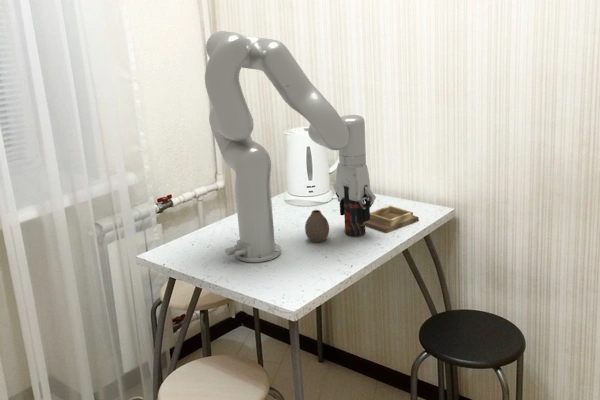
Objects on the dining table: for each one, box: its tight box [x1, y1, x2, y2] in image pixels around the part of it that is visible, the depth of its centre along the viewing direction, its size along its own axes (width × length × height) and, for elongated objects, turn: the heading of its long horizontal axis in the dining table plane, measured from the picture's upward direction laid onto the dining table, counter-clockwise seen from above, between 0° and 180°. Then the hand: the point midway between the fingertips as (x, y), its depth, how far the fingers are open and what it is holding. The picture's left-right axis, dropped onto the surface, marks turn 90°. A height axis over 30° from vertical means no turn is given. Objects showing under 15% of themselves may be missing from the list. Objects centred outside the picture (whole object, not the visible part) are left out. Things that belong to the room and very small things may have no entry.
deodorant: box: [343, 186, 366, 238], centre depth 191 cm, size 6×6×15 cm
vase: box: [304, 209, 330, 243], centre depth 189 cm, size 7×7×9 cm
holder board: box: [365, 205, 420, 234], centre depth 199 cm, size 14×10×3 cm
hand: (354, 217), depth 192 cm, fingers open, 8 cm apart
